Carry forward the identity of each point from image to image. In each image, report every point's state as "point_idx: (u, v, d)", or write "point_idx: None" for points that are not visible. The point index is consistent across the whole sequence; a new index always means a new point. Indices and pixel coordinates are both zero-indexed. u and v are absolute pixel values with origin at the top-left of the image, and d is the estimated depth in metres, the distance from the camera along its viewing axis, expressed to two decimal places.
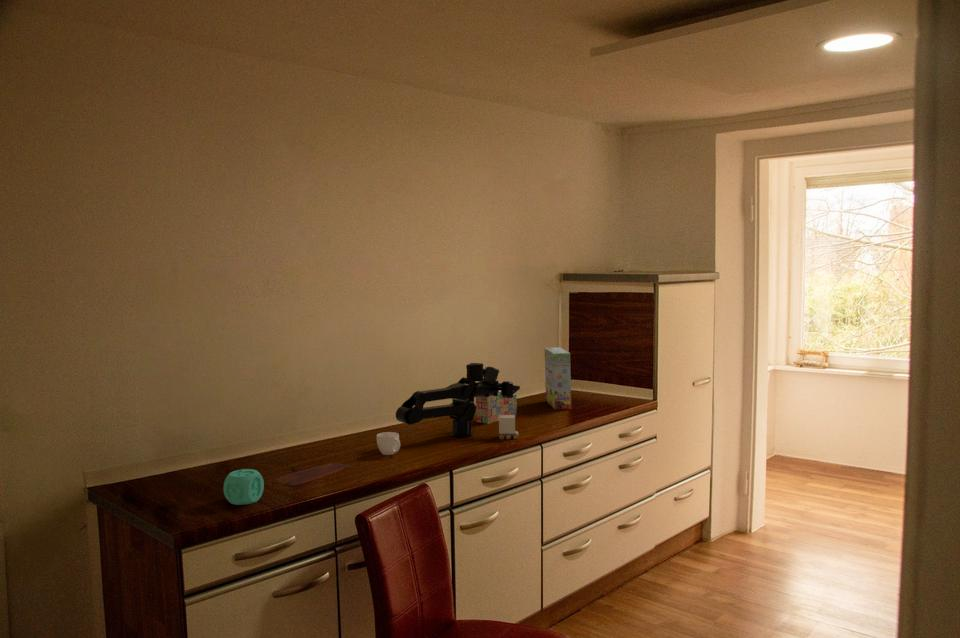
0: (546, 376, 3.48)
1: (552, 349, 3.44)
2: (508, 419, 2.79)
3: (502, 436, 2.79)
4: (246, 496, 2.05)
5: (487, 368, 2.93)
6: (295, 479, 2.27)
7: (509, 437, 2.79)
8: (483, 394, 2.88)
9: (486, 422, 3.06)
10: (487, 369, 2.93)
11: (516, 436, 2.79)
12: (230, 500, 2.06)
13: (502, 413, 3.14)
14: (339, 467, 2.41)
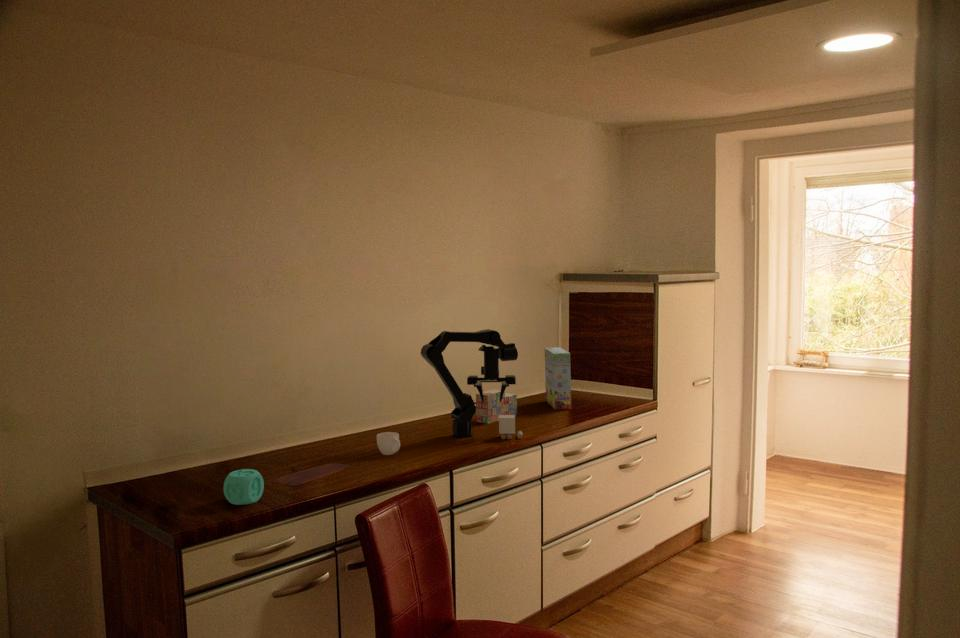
0: (546, 376, 3.48)
1: (552, 349, 3.44)
2: (508, 419, 2.79)
3: (504, 437, 2.79)
4: (246, 496, 2.05)
5: None
6: (295, 479, 2.27)
7: (510, 437, 2.79)
8: (489, 361, 2.85)
9: (486, 422, 3.06)
10: None
11: (520, 437, 2.79)
12: (230, 500, 2.06)
13: (502, 413, 3.14)
14: (339, 467, 2.41)
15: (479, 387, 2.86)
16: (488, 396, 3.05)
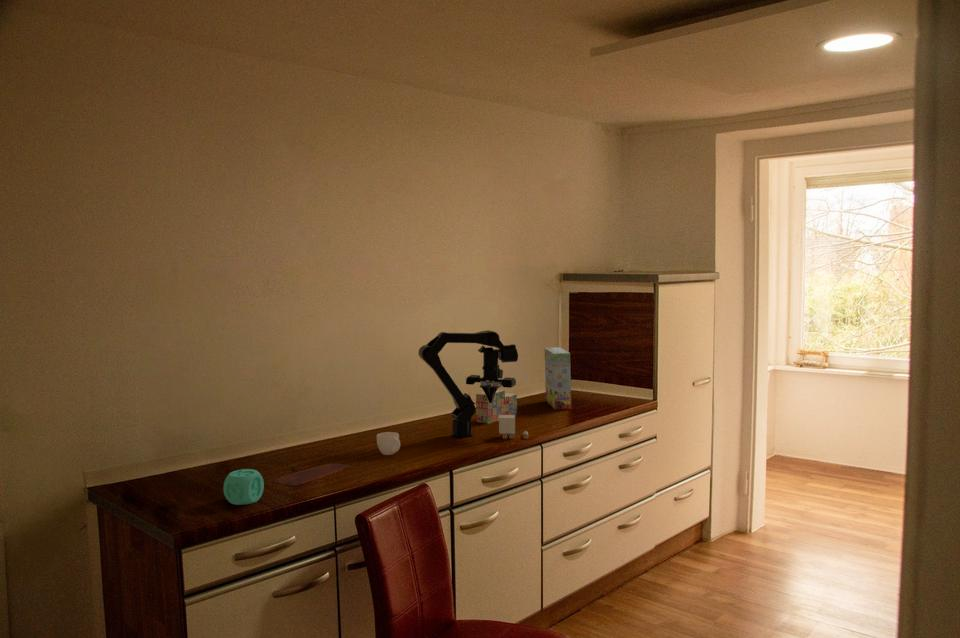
0: (546, 376, 3.48)
1: (552, 349, 3.44)
2: (508, 419, 2.79)
3: (505, 437, 2.79)
4: (246, 496, 2.05)
5: None
6: (295, 479, 2.27)
7: (511, 438, 2.79)
8: (488, 362, 2.84)
9: (486, 422, 3.06)
10: None
11: (524, 436, 2.79)
12: (230, 500, 2.06)
13: (502, 413, 3.14)
14: (339, 467, 2.41)
15: (484, 388, 2.86)
16: None
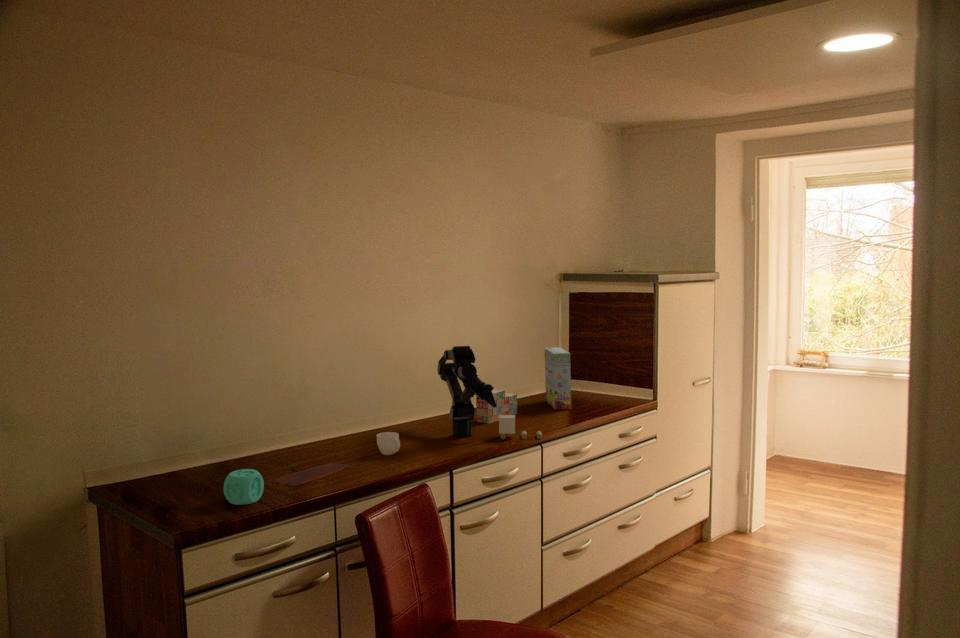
0: (546, 376, 3.48)
1: (552, 349, 3.44)
2: (508, 419, 2.79)
3: (504, 437, 2.79)
4: (246, 496, 2.05)
5: (461, 399, 2.78)
6: (295, 479, 2.26)
7: (525, 437, 2.79)
8: None
9: (487, 422, 3.07)
10: (461, 398, 2.78)
11: (538, 437, 2.79)
12: (230, 500, 2.06)
13: (502, 413, 3.14)
14: (339, 467, 2.41)
15: None
16: None
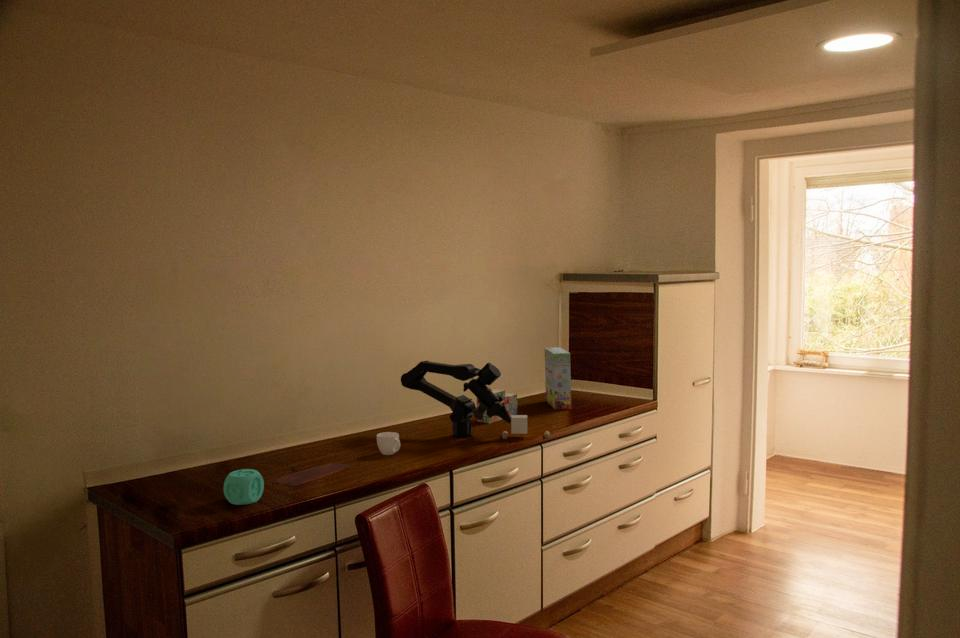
0: (546, 376, 3.48)
1: (552, 349, 3.44)
2: (520, 419, 2.79)
3: (505, 437, 2.79)
4: (246, 496, 2.05)
5: (474, 414, 2.80)
6: (295, 480, 2.26)
7: (547, 436, 2.78)
8: (476, 395, 2.79)
9: (487, 422, 3.07)
10: None
11: None
12: (230, 500, 2.06)
13: None
14: (339, 467, 2.41)
15: (504, 406, 2.79)
16: None
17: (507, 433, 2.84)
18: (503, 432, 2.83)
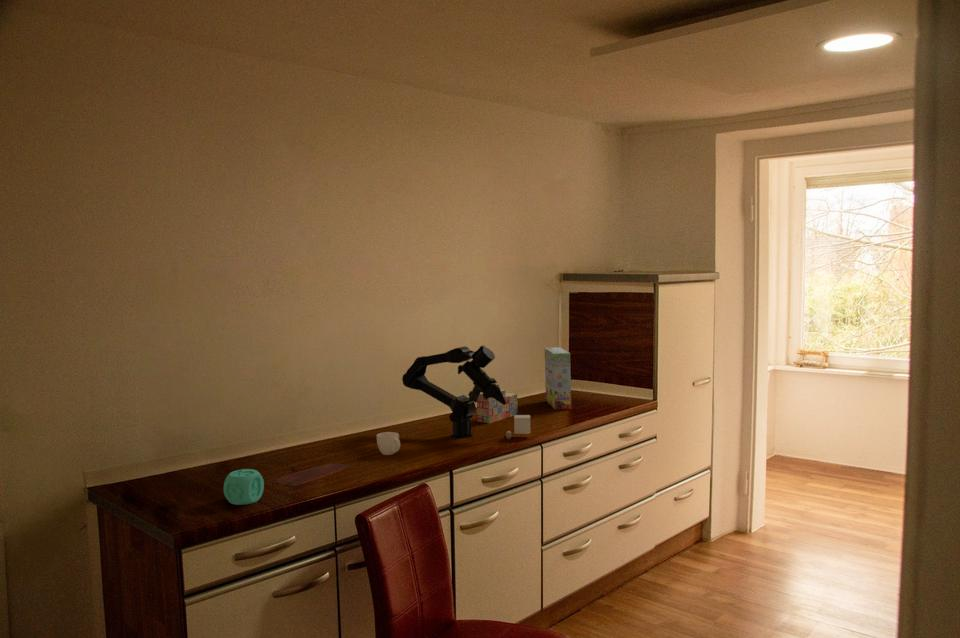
0: (546, 376, 3.48)
1: (552, 349, 3.44)
2: (523, 419, 2.79)
3: (507, 437, 2.79)
4: (246, 496, 2.05)
5: (469, 397, 2.80)
6: (295, 480, 2.26)
7: None
8: (470, 378, 2.80)
9: (487, 422, 3.07)
10: None
11: None
12: (230, 500, 2.06)
13: (503, 413, 3.15)
14: (339, 467, 2.41)
15: None
16: None
17: None
18: None
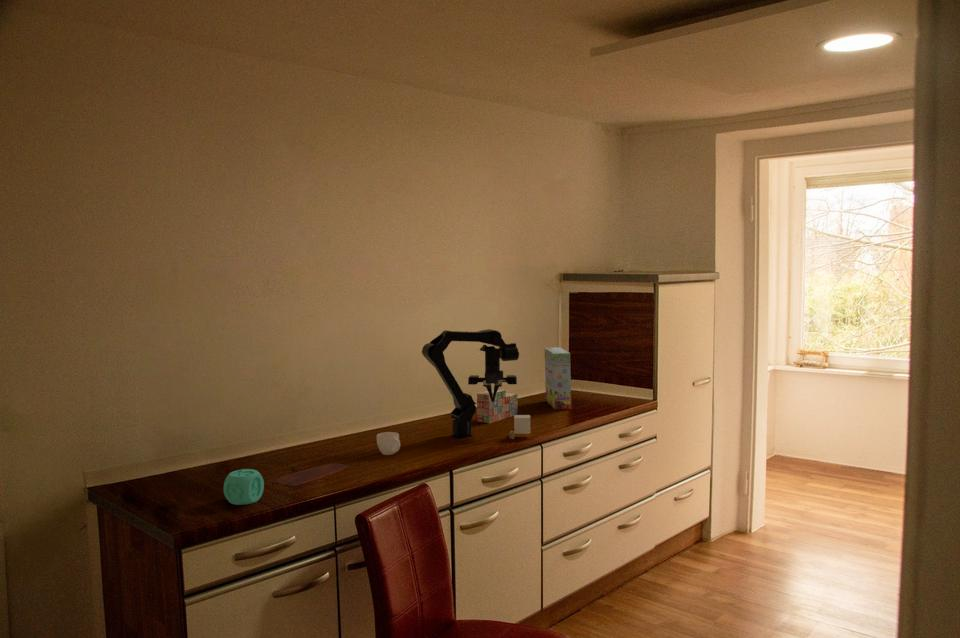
0: (546, 376, 3.48)
1: (552, 349, 3.44)
2: (523, 419, 2.79)
3: (511, 436, 2.79)
4: (246, 496, 2.05)
5: (495, 375, 2.81)
6: (295, 480, 2.26)
7: None
8: (490, 361, 2.86)
9: (487, 421, 3.07)
10: (495, 375, 2.81)
11: None
12: (230, 500, 2.06)
13: (503, 413, 3.15)
14: (339, 467, 2.41)
15: None
16: (489, 396, 3.06)
17: (509, 434, 2.84)
18: None
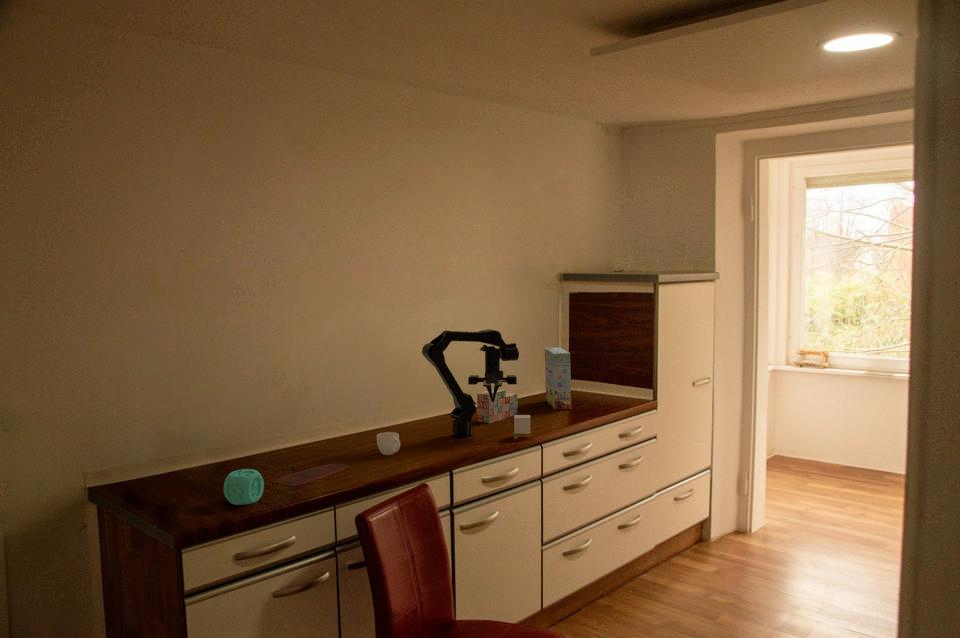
0: (546, 376, 3.48)
1: (552, 349, 3.44)
2: (523, 419, 2.79)
3: (516, 436, 2.79)
4: (246, 496, 2.05)
5: (495, 375, 2.81)
6: (295, 480, 2.26)
7: None
8: (490, 361, 2.86)
9: (487, 421, 3.07)
10: (495, 375, 2.81)
11: None
12: (230, 500, 2.06)
13: (503, 412, 3.15)
14: (339, 467, 2.41)
15: None
16: (489, 396, 3.06)
17: None
18: None
